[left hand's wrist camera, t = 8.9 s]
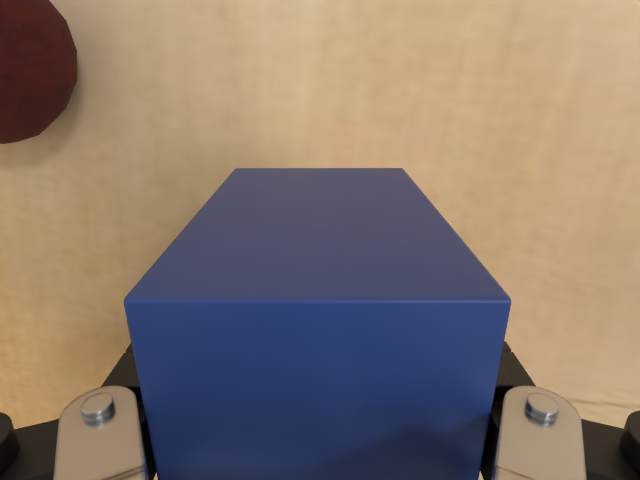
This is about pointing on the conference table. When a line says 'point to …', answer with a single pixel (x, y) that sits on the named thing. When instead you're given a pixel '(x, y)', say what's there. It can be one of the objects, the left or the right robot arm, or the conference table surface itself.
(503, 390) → the left robot arm
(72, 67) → the potato
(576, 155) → the conference table surface
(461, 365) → the box
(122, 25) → the conference table surface
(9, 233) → the conference table surface
